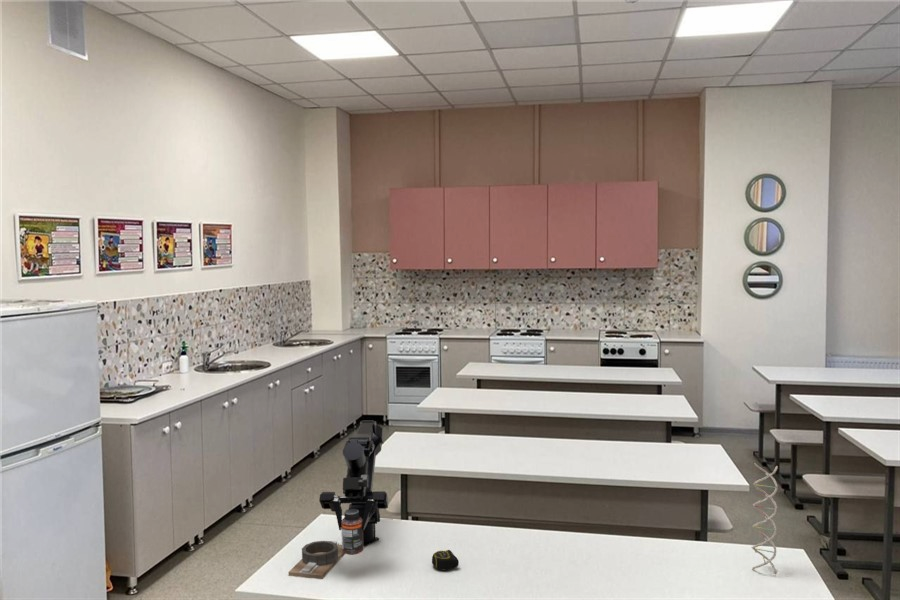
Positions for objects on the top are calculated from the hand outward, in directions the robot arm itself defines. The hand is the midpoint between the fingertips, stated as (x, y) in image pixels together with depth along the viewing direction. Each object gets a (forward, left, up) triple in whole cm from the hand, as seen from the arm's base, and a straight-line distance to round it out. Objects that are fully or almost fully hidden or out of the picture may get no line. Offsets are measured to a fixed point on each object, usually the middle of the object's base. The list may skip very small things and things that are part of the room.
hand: (351, 529), depth 192 cm
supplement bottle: (-1, -1, -7) cm, 7 cm away
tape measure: (-21, +16, -14) cm, 30 cm away
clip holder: (-1, -15, -13) cm, 20 cm away
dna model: (-70, +88, -13) cm, 114 cm away
